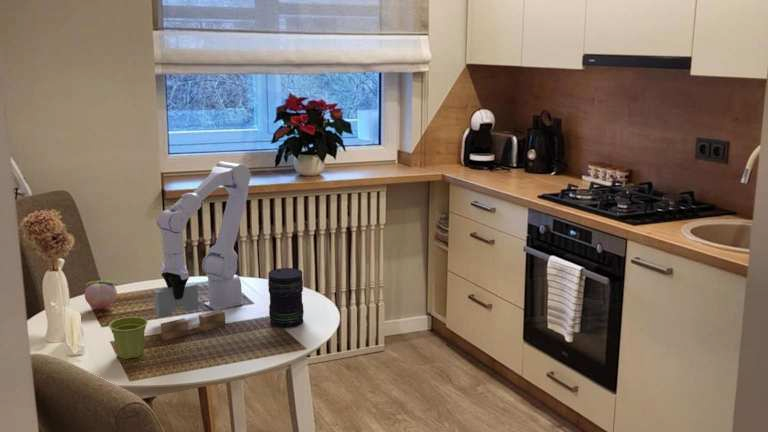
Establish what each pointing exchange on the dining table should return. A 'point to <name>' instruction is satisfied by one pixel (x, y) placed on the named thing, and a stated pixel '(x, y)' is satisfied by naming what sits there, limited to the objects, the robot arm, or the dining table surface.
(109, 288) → the decorative fruit
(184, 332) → the base rail
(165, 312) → the crosspiece
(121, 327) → the plant pot
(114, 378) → the dining table surface
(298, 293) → the camera lens
